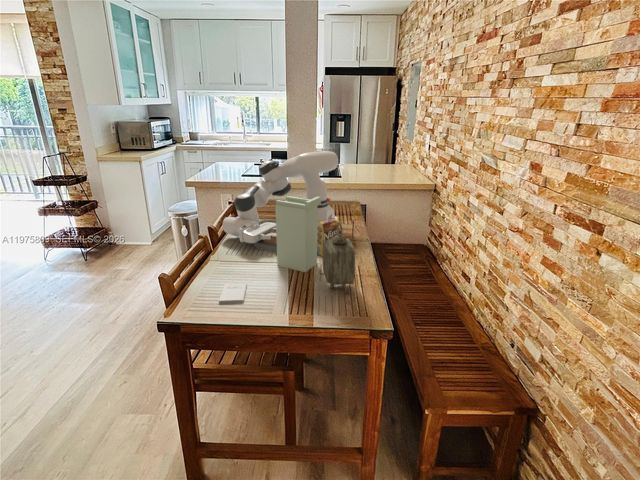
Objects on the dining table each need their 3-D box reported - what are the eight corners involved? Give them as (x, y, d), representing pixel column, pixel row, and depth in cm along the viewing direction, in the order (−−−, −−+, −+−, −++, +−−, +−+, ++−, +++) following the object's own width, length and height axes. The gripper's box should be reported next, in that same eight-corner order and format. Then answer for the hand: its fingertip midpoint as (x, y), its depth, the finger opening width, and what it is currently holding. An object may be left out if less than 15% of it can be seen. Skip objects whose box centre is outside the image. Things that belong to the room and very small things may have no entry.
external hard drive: (219, 304, 126) (224, 287, 137) (243, 304, 126) (247, 286, 138) (218, 300, 125) (224, 283, 137) (243, 299, 126) (247, 282, 137)
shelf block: (289, 257, 162) (288, 192, 151) (320, 264, 155) (320, 196, 145) (277, 265, 154) (275, 197, 144) (308, 273, 148) (308, 202, 137)
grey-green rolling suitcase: (353, 296, 131) (356, 229, 122) (328, 298, 129) (329, 230, 120) (345, 277, 144) (347, 216, 135) (322, 279, 143) (322, 217, 134)
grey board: (266, 241, 179) (266, 236, 179) (317, 252, 167) (317, 247, 166) (255, 247, 172) (254, 242, 171) (307, 259, 160) (307, 254, 159)
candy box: (321, 256, 163) (322, 223, 157) (316, 253, 166) (316, 221, 161) (338, 252, 168) (339, 220, 162) (332, 249, 171) (333, 217, 165)
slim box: (269, 239, 174) (268, 231, 173) (309, 248, 165) (309, 240, 163) (264, 242, 171) (263, 234, 170) (305, 251, 161) (305, 243, 160)
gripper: (264, 229, 185) (288, 234, 179) (237, 242, 168) (262, 248, 162) (264, 217, 183) (287, 222, 176) (236, 229, 166) (261, 235, 160)
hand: (275, 235), depth 169 cm, fingers open, 6 cm apart
